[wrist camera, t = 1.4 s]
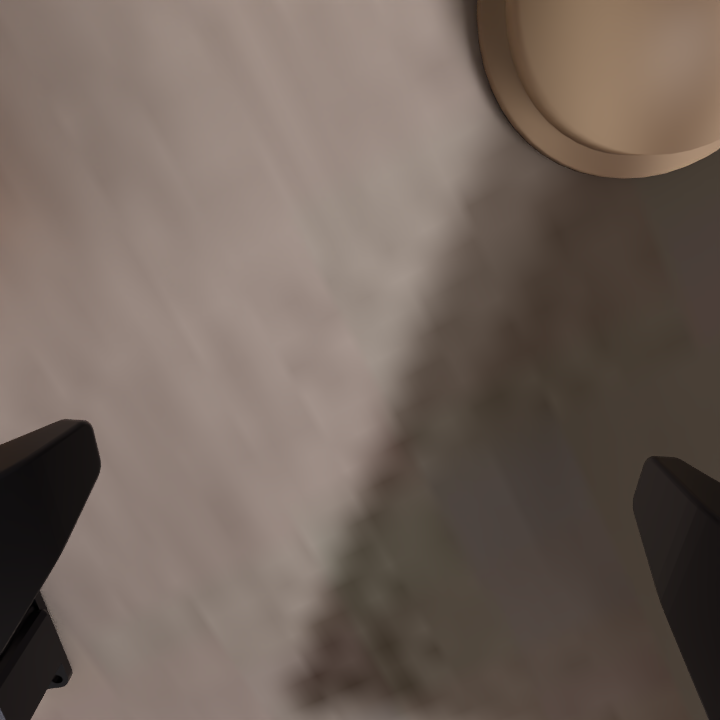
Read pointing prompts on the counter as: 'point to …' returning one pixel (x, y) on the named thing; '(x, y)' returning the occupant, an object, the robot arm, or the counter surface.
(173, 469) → the counter surface
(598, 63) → the beige saucer
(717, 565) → the robot arm
